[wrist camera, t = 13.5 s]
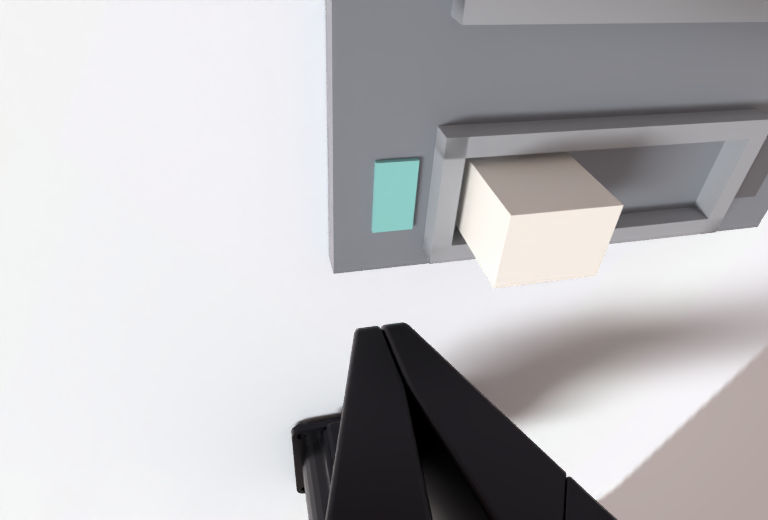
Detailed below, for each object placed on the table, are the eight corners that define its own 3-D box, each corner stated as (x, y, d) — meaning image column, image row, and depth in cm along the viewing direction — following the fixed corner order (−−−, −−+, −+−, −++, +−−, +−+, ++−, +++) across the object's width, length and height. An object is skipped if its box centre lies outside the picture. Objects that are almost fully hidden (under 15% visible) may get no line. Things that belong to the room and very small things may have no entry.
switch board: (739, 213, 27) (773, 238, 25) (329, 255, 23) (337, 289, 21) (968, -202, 17) (1049, -206, 16) (321, -274, 13) (336, -290, 11)
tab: (545, 215, 22) (596, 275, 19) (455, 223, 21) (493, 288, 18) (563, 149, 20) (623, 204, 17) (465, 156, 20) (511, 215, 17)
